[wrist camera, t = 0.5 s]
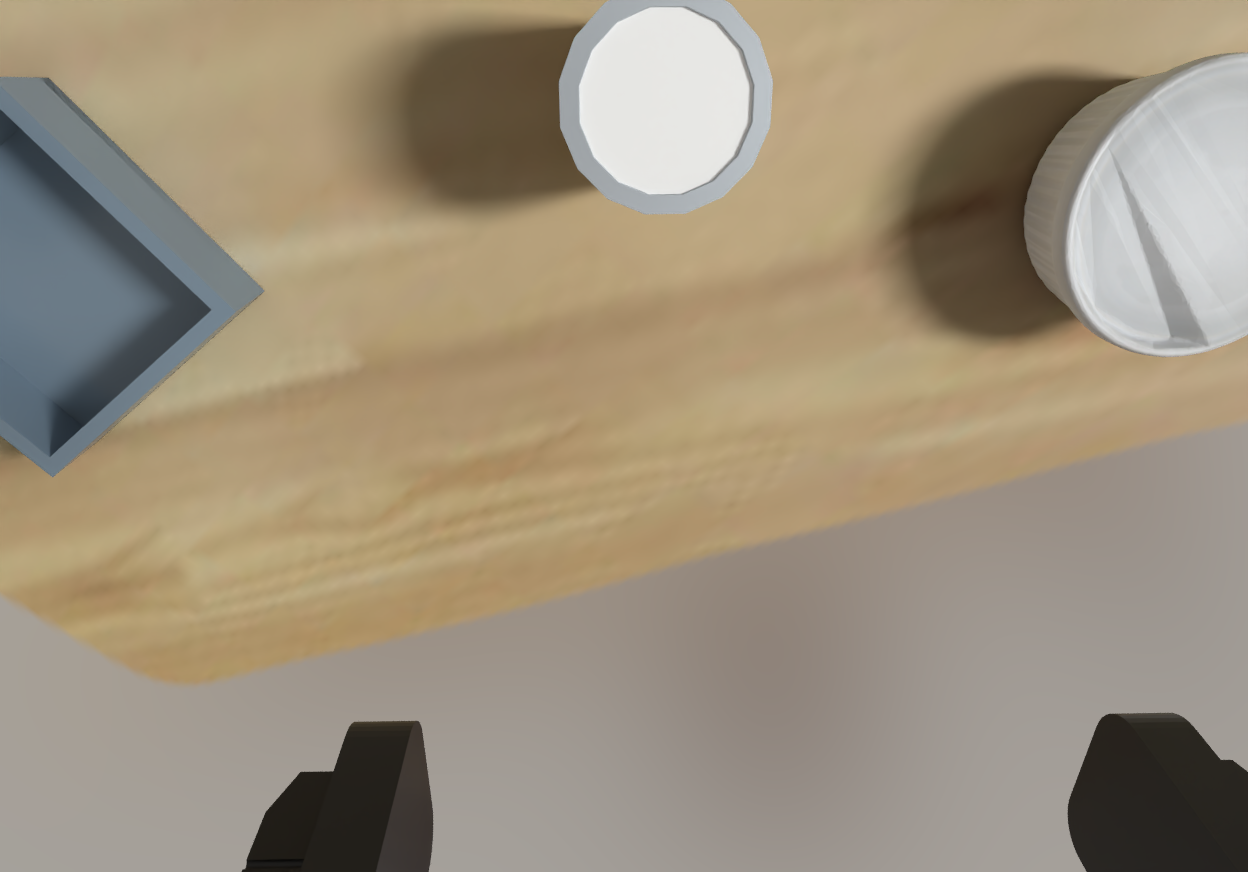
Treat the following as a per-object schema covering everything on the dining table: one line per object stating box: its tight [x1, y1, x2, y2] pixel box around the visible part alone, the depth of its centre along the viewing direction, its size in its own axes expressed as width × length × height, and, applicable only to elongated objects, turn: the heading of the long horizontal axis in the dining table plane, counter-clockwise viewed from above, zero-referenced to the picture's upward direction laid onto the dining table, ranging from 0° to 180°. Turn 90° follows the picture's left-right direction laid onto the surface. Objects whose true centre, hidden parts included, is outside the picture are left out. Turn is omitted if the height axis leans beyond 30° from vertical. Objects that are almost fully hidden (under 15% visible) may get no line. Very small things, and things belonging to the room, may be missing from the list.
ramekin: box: [1024, 53, 1248, 357], centre depth 34 cm, size 11×11×5 cm
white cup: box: [559, 0, 773, 214], centre depth 30 cm, size 7×7×7 cm
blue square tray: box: [0, 77, 264, 477], centre depth 32 cm, size 10×10×4 cm
